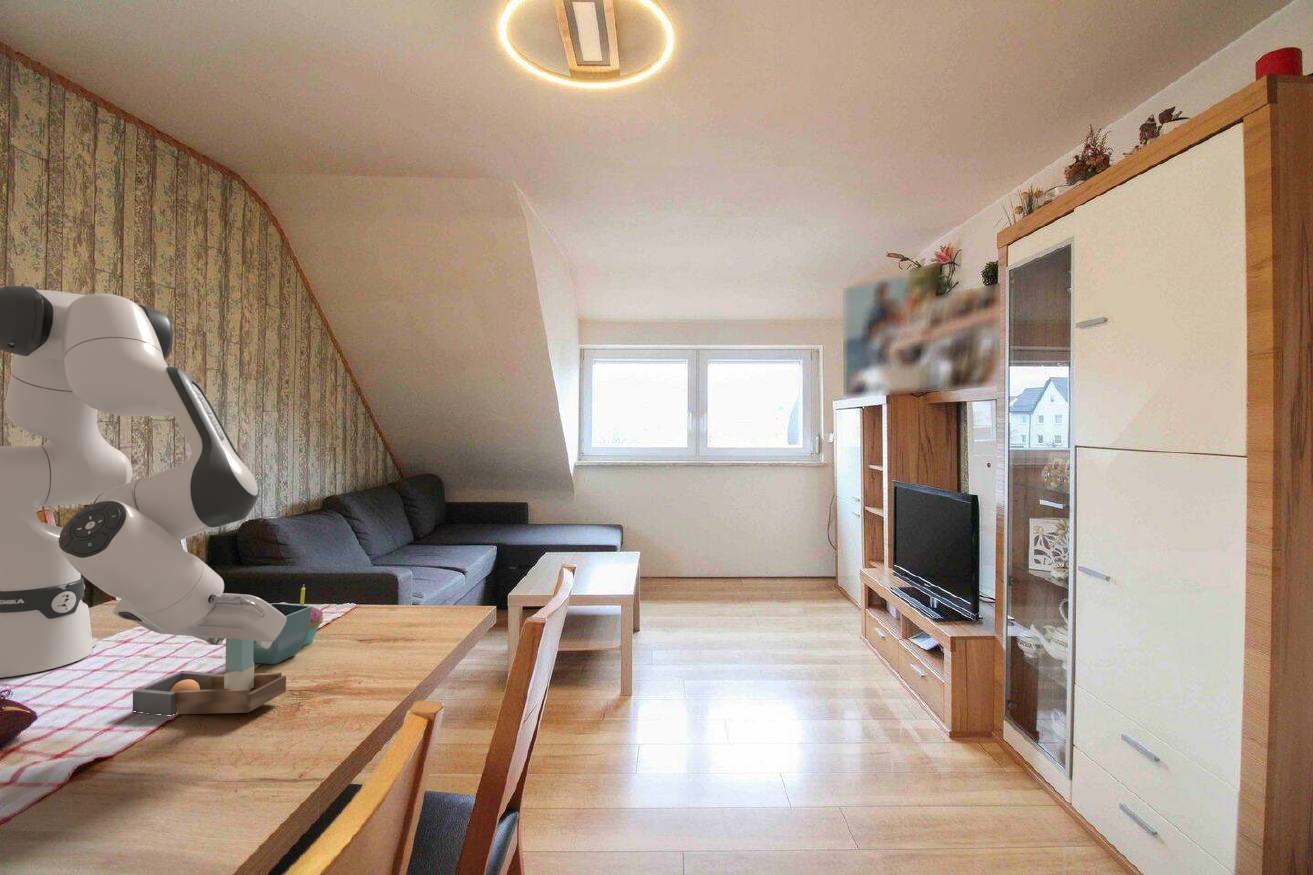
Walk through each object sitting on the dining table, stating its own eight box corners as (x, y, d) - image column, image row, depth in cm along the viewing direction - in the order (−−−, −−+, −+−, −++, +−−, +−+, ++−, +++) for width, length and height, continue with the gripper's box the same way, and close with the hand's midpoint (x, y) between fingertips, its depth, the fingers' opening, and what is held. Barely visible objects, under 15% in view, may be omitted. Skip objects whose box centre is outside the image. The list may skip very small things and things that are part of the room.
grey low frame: (132, 712, 86) (132, 691, 86) (182, 690, 93) (182, 670, 93) (170, 716, 85) (170, 694, 85) (217, 693, 92) (217, 673, 92)
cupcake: (331, 641, 116) (331, 581, 116) (285, 653, 109) (285, 590, 109) (310, 632, 121) (311, 575, 121) (264, 644, 114) (265, 583, 114)
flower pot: (275, 670, 102) (276, 619, 102) (232, 666, 103) (232, 616, 103) (313, 652, 110) (313, 605, 110) (272, 648, 112) (273, 602, 112)
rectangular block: (218, 698, 85) (218, 625, 85) (243, 686, 90) (244, 616, 90) (234, 700, 85) (235, 627, 85) (259, 687, 89) (260, 617, 89)
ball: (172, 713, 87) (158, 694, 87) (194, 703, 91) (181, 684, 91) (187, 699, 87) (174, 680, 87) (209, 689, 90) (196, 670, 91)
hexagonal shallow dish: (175, 713, 85) (175, 683, 85) (214, 694, 92) (214, 666, 92) (250, 721, 83) (251, 690, 83) (285, 701, 90) (286, 672, 90)
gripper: (263, 578, 79) (315, 626, 89) (136, 571, 82) (199, 618, 92) (234, 621, 74) (292, 667, 84) (101, 612, 78) (172, 657, 87)
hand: (243, 642), depth 88 cm, fingers open, 7 cm apart
